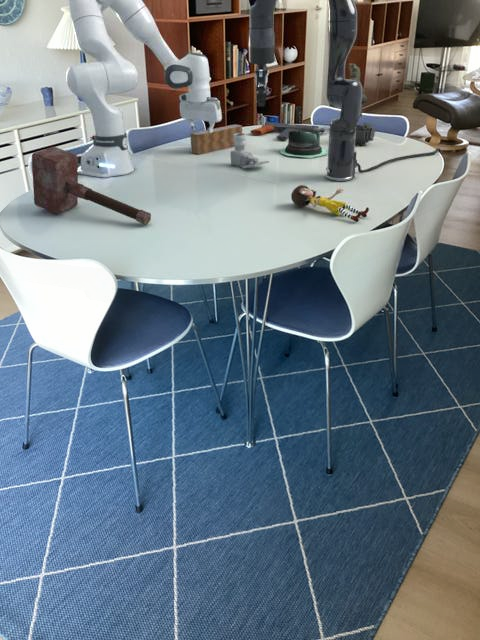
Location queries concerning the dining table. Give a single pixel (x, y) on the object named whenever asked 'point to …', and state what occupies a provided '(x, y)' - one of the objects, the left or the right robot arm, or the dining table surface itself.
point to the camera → (243, 154)
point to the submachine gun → (281, 129)
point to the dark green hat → (304, 143)
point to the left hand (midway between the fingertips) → (201, 131)
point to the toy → (364, 134)
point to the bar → (214, 139)
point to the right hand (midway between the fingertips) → (261, 103)
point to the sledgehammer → (69, 186)
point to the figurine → (324, 202)
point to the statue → (356, 76)
